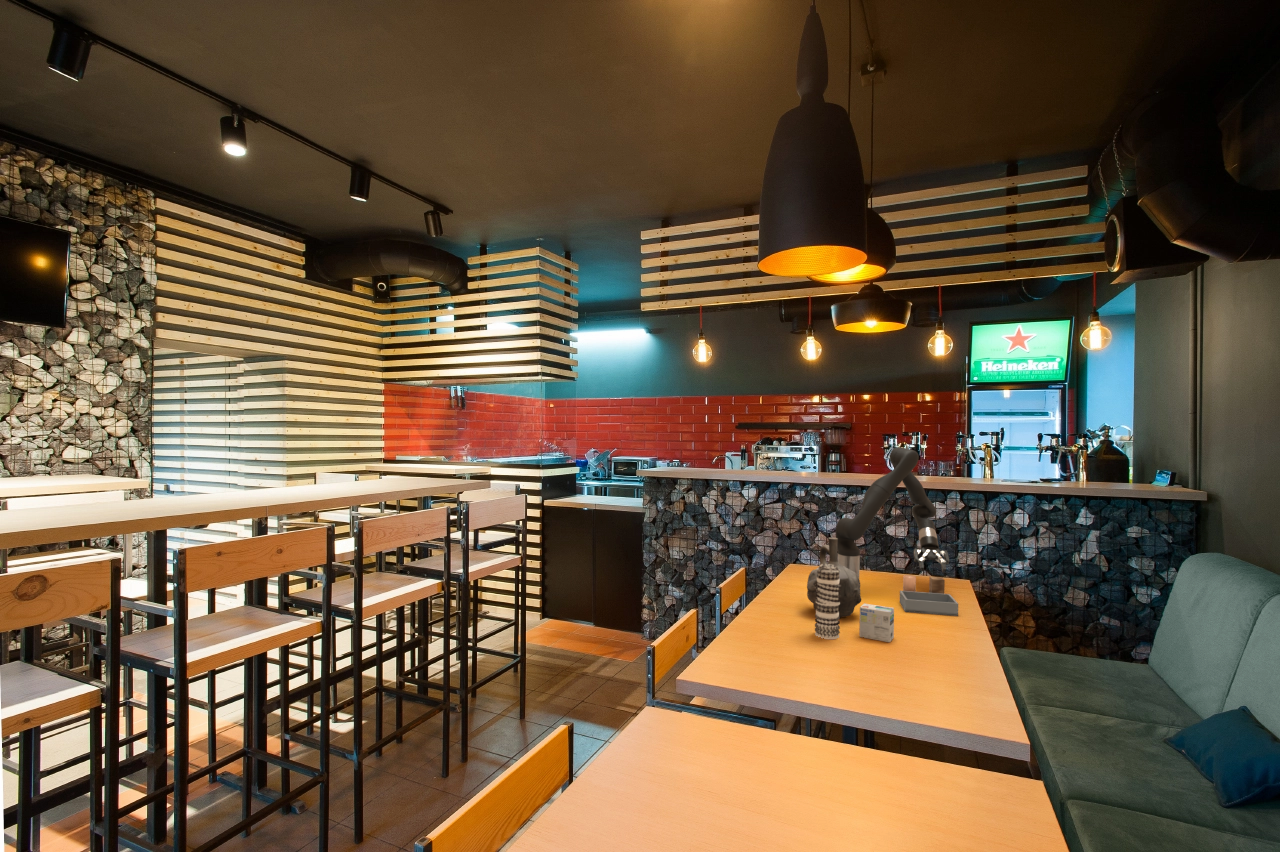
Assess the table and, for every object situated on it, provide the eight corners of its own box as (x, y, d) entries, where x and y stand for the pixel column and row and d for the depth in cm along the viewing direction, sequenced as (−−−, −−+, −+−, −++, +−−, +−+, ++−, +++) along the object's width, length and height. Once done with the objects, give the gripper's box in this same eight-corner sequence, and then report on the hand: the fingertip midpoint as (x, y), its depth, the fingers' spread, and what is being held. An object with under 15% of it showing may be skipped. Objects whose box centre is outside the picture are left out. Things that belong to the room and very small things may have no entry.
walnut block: (931, 602, 275) (931, 579, 275) (929, 599, 279) (929, 576, 279) (944, 603, 273) (944, 580, 273) (941, 600, 278) (942, 577, 278)
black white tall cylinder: (810, 637, 227) (812, 566, 227) (816, 629, 236) (818, 561, 235) (837, 641, 223) (838, 569, 223) (842, 633, 231) (843, 564, 231)
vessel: (790, 606, 265) (791, 533, 265) (835, 602, 272) (836, 531, 272) (826, 624, 242) (827, 544, 242) (874, 619, 249) (875, 542, 249)
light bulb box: (894, 637, 228) (894, 607, 228) (890, 643, 223) (891, 611, 222) (863, 632, 234) (863, 602, 234) (858, 637, 228) (859, 606, 228)
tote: (905, 612, 260) (905, 599, 260) (899, 602, 274) (899, 590, 274) (958, 616, 255) (958, 603, 255) (949, 606, 270) (949, 594, 269)
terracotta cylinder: (903, 600, 277) (904, 577, 277) (902, 597, 282) (902, 574, 282) (916, 601, 276) (916, 578, 276) (914, 598, 281) (914, 575, 281)
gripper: (912, 534, 294) (917, 564, 283) (946, 536, 291) (952, 566, 280) (910, 543, 299) (914, 574, 288) (943, 545, 296) (949, 576, 285)
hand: (933, 570), depth 284 cm, fingers open, 8 cm apart
